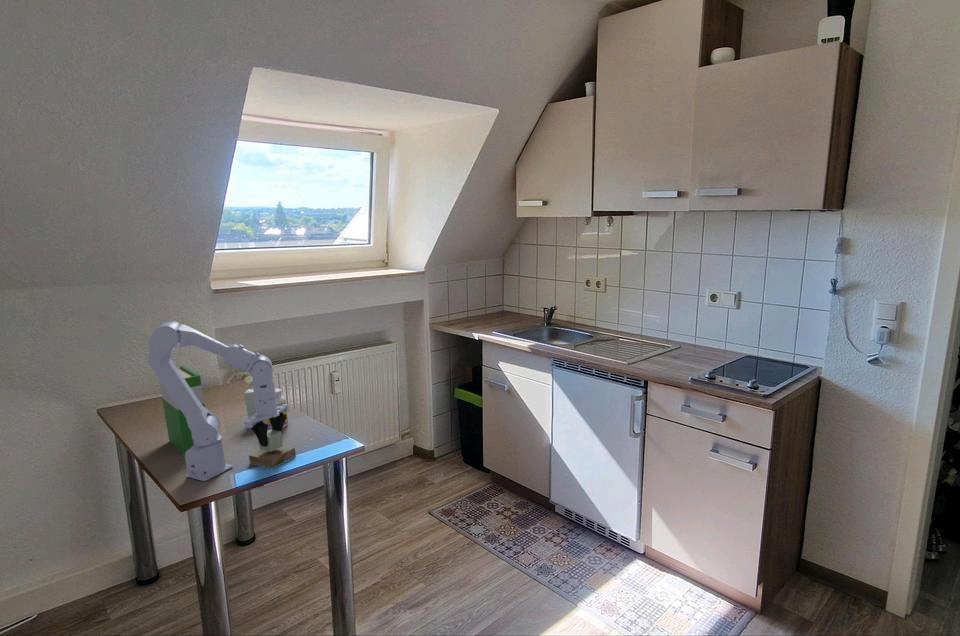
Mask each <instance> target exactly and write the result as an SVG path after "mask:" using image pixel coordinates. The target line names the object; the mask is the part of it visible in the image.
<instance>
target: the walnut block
mask: <svg viewBox="0 0 960 636" xmlns="http://www.w3.org/2000/svg"><path fill="white" fill-rule="evenodd" d="M295 455H296V456H297V453H296V447H294V446H290V445H289V446H288V445H284V444H283V446H281V447H280V448H278V449H276V450H274V451H272V452H269V451H264V450H260V449H258V450H257V451H255V452H253V453H251V454H248V458H249V459H248V461H249V464H250V463H251V464H250V465H253V464H256V465H255V466H258V465H260V466H259V467H262V466H265V467H264V468H267V467H269V468H268V469H271V468H273V469H274V467H275V466H277V465H278V466H280V465H282V464H284V463H285V462H284V461H286V460H287V461H289V460H291V459H293V458H294V457H293V456H295ZM296 456H295V457H296ZM292 457H293V458H292ZM290 458H291V459H290ZM288 459H289V460H288ZM287 461H286V462H287ZM283 462H284V463H283ZM281 463H282V464H281ZM279 464H280V465H279ZM278 466H277V467H278ZM275 468H276V467H275Z"/></svg>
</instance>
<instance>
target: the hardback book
mask: <svg viewBox="0 0 960 636" xmlns="http://www.w3.org/2000/svg"><path fill="white" fill-rule="evenodd" d="M177 369H178V370H179V372H180V373H181V375H182V376H183V378H184V379H185V381H186V382H187V384H188V385H189V386H190V388H191V389H192V391H193V392H194V394H195V395H196V397H197V398H198V400H199V401H200V403H201V404H202V406H204V407H205V408H206V405H205V400H204V392H203V387H202V386H203V385H202V379H201V378H202V377H201V375H200V374H198V373H197V372H195V371H193V370H191V369H190V368H188V367H186V366H184V365H179V368H177ZM158 381H159V386H160V393H161V399H162V405H163V411H164V416H165V424H166V428H167V429H166V430H167V436H168V441H169V443H170V444H171V445H172V444H173V445H174V446H175V447H176V448H177V449H176V448H175V447H174V448H175V449H176V450H177V451H178V452H179V453H181V455H183V456H184V457H185V453H186V451H187V450H189V449H190V448H191V447H192V446H193V445H194V443H193V442H194V441H193V439H192V433H191V430H190V429H189V427H188V424H187V420H186V417H185V416H184V414H183V413H182V411H181V410H180V408H179V407H178V406H177V404H176V403H175V401H174V400H173V398H172V397H171V395H170V394H169V393H168V391H167V390H166V388H165V387H164V385H163V384H162V382H161V381H160V380H159V379H158ZM173 445H172V446H173Z"/></svg>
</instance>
